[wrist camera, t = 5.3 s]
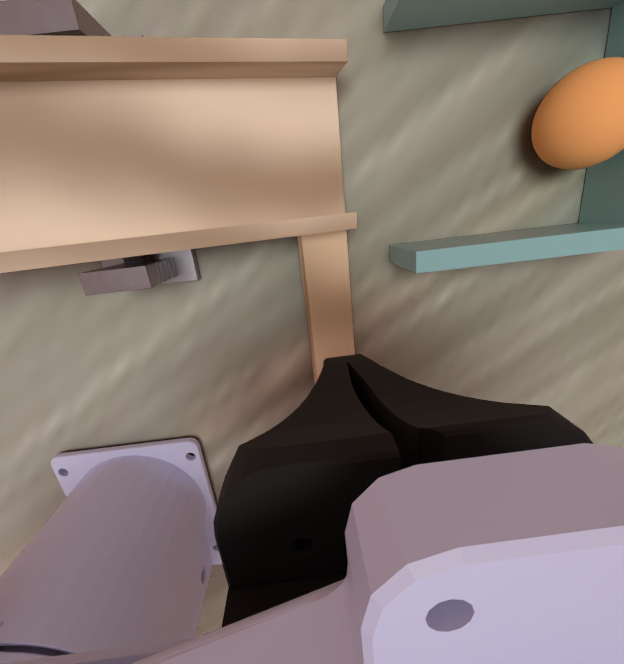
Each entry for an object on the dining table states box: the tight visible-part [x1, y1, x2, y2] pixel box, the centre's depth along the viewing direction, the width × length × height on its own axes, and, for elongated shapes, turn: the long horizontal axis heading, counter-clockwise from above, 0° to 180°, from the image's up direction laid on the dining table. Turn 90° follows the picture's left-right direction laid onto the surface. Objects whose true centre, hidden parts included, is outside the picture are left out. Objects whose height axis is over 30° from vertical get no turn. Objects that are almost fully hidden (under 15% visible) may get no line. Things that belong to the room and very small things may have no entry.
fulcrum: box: [0, 0, 200, 295], centre depth 12 cm, size 9×4×3 cm, turn 6°
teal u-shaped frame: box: [383, 0, 624, 274], centre depth 12 cm, size 10×10×4 cm
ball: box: [531, 57, 624, 170], centre depth 12 cm, size 4×4×4 cm
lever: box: [0, 35, 357, 384], centre depth 12 cm, size 14×18×3 cm
